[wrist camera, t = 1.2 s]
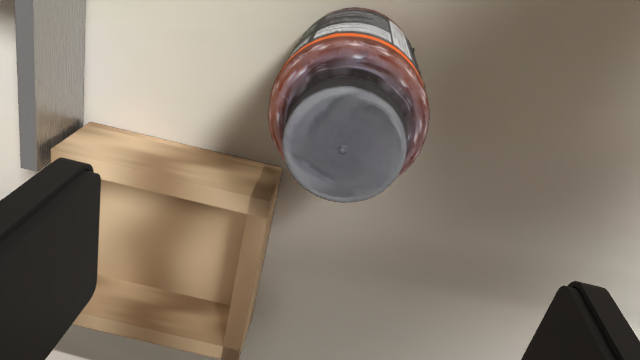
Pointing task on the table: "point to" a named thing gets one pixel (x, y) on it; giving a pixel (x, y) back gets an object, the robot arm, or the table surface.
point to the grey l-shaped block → (49, 75)
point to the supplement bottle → (349, 106)
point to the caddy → (175, 239)
